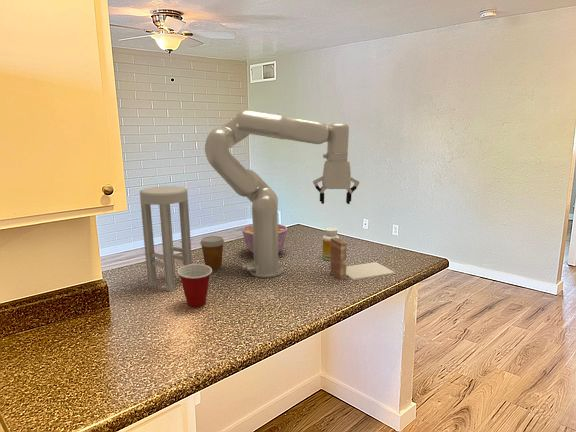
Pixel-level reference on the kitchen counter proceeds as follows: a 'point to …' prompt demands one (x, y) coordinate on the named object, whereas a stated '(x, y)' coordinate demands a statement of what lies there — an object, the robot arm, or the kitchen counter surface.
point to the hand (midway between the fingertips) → (335, 203)
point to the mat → (367, 271)
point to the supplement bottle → (328, 242)
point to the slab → (338, 258)
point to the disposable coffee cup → (212, 251)
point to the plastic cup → (195, 283)
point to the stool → (165, 231)
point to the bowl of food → (249, 236)
